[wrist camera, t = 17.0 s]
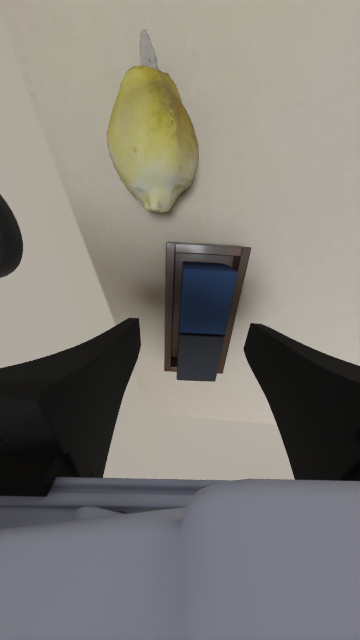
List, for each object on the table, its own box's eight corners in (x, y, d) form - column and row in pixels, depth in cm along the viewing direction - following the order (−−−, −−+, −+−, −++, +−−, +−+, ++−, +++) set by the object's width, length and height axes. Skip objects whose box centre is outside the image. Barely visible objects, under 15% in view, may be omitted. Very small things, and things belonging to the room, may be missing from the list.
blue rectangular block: (179, 313, 20) (179, 332, 16) (182, 261, 17) (183, 268, 13) (216, 315, 20) (225, 334, 16) (225, 263, 17) (238, 271, 13)
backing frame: (165, 359, 23) (164, 371, 21) (167, 241, 17) (166, 242, 14) (218, 361, 24) (222, 373, 21) (242, 246, 17) (251, 247, 15)
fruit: (191, 41, 11) (208, 210, 14) (119, 90, 13) (148, 228, 16) (151, -141, 6) (192, 185, 9) (45, -13, 8) (107, 216, 11)
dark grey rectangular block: (177, 355, 23) (176, 380, 19) (179, 315, 20) (179, 335, 16) (209, 356, 23) (215, 381, 19) (215, 317, 20) (224, 337, 16)
